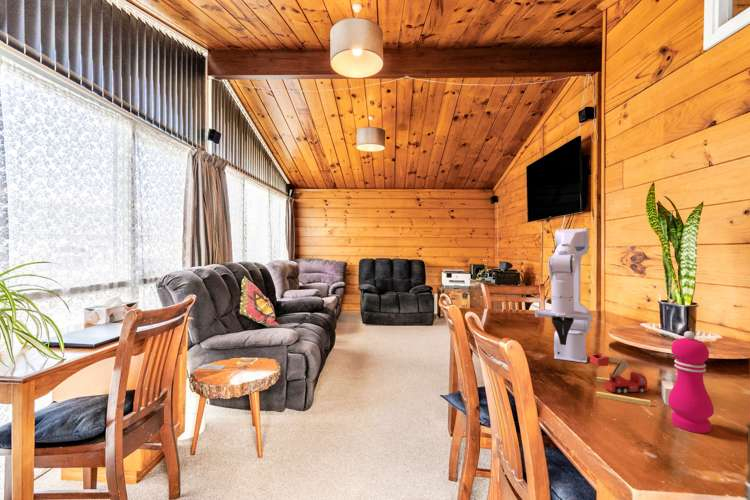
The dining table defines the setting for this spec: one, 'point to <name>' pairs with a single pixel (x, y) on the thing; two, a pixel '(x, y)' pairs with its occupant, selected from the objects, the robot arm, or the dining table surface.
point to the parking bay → (666, 391)
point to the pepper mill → (690, 386)
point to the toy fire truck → (618, 382)
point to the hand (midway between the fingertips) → (563, 343)
